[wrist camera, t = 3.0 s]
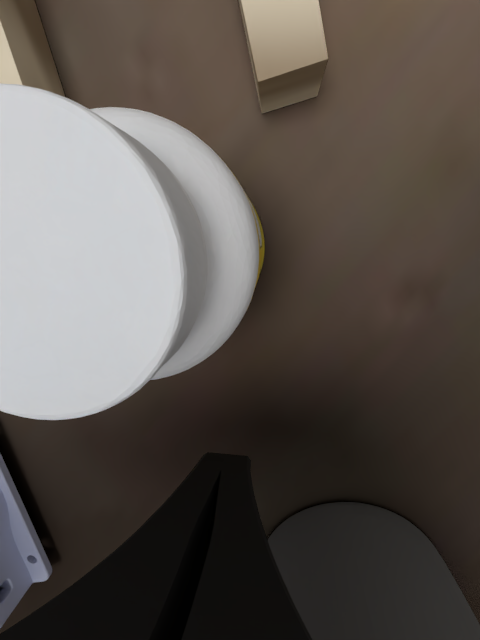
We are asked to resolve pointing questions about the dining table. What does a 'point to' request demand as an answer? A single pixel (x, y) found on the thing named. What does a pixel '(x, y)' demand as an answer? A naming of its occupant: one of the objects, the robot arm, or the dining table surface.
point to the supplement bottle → (112, 253)
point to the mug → (368, 576)
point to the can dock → (260, 31)
